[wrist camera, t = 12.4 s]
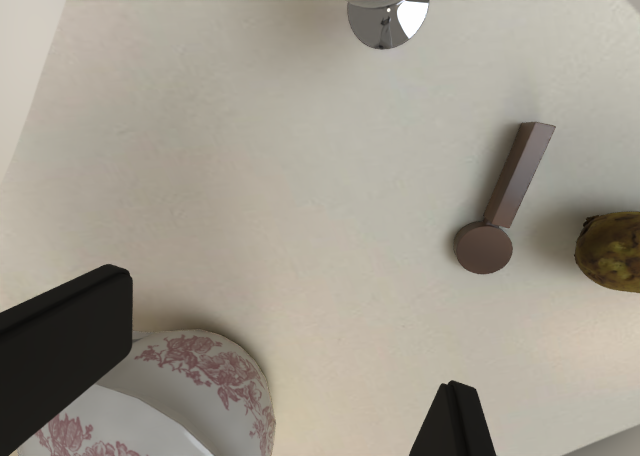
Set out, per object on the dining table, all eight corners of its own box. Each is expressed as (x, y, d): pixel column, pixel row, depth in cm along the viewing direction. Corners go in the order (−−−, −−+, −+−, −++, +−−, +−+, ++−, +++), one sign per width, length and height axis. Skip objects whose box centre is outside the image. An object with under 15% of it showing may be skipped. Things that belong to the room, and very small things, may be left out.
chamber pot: (304, 466, 48) (240, 694, 29) (149, 425, 54) (10, 590, 34) (307, 305, 39) (219, 474, 20) (123, 276, 45) (-82, 386, 26)
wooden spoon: (502, 118, 28) (513, 117, 26) (560, 131, 28) (579, 131, 25) (446, 259, 33) (450, 270, 31) (494, 272, 33) (503, 286, 30)
